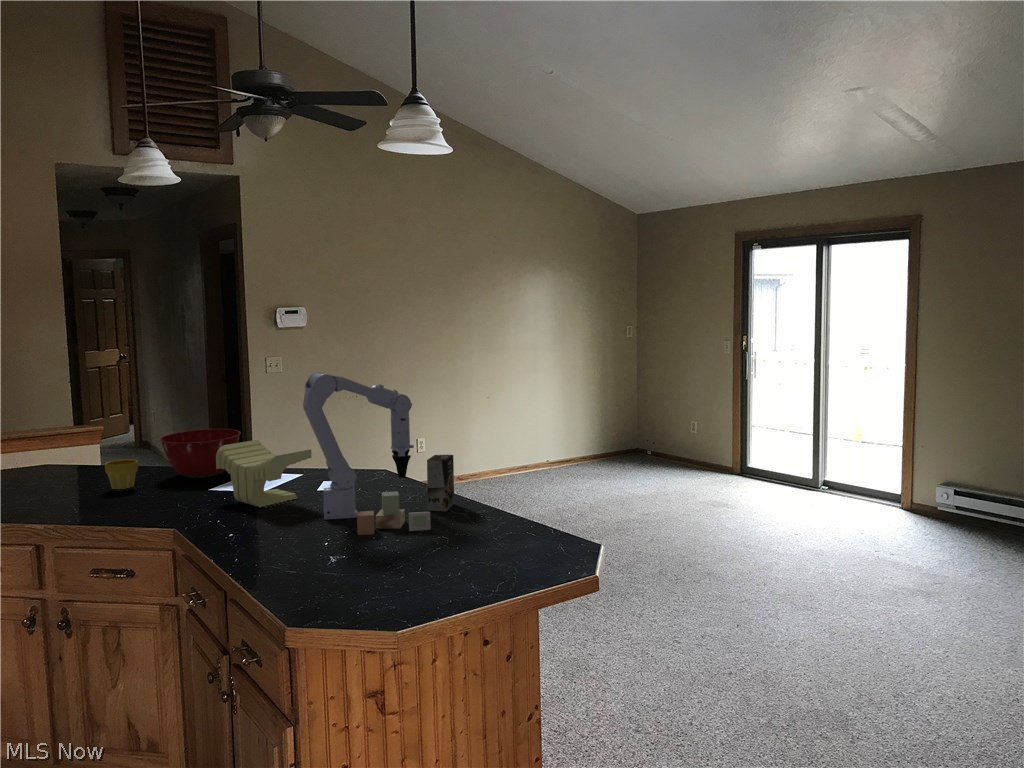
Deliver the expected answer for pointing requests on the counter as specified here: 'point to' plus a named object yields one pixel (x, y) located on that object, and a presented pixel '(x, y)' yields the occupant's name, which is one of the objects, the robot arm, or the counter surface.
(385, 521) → the birch base block
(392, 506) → the sage block
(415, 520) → the placard
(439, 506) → the coffee box
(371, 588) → the counter surface
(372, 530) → the terracotta block
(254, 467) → the slatted curved stool
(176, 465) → the mixing bowl
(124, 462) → the plant pot
